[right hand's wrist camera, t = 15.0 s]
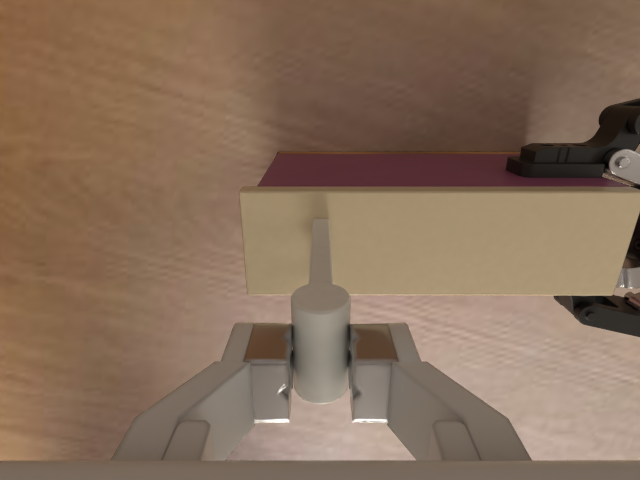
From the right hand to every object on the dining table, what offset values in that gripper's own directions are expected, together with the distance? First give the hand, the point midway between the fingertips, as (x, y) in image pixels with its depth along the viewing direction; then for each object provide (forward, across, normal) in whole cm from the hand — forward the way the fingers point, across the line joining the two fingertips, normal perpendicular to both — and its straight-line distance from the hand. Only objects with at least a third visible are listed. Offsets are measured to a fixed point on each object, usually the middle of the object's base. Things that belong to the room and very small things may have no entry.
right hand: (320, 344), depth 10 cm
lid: (+8, -5, 0) cm, 9 cm away
